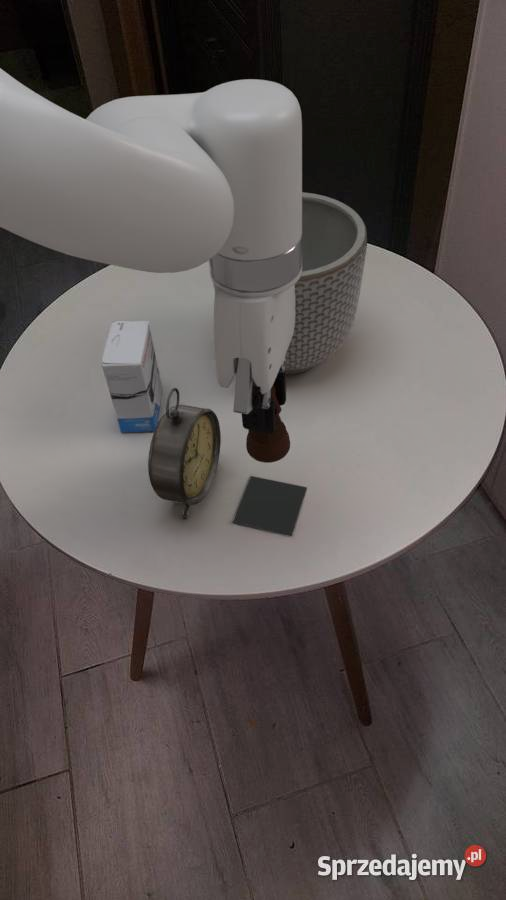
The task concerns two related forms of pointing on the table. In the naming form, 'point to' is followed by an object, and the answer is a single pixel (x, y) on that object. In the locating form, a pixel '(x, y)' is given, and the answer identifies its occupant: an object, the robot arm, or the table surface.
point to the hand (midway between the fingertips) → (264, 413)
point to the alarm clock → (184, 453)
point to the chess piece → (269, 437)
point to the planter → (326, 281)
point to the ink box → (132, 375)
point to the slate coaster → (270, 505)
